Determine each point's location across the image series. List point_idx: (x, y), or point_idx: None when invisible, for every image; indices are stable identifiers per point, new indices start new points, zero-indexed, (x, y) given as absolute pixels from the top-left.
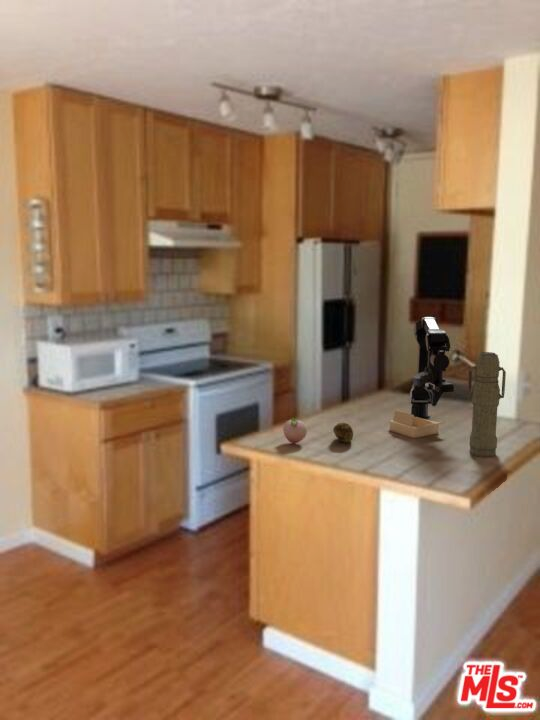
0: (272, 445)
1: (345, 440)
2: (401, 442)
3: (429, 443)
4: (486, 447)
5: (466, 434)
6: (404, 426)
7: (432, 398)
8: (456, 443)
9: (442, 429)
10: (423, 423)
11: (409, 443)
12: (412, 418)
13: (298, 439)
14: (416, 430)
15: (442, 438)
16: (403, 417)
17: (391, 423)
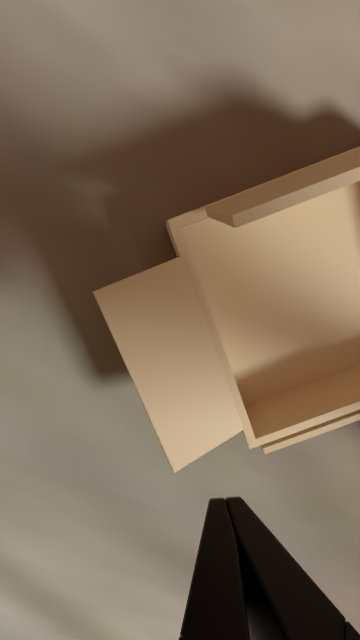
0: None
1: None
2: (88, 82)
3: (37, 267)
4: None
5: (174, 528)
6: (272, 180)
7: (215, 621)
8: (18, 416)
9: (294, 462)
10: (354, 384)
11: (55, 131)
12: (225, 210)
13: None
14: (174, 241)
15: (128, 388)
16: (337, 164)
17: None
